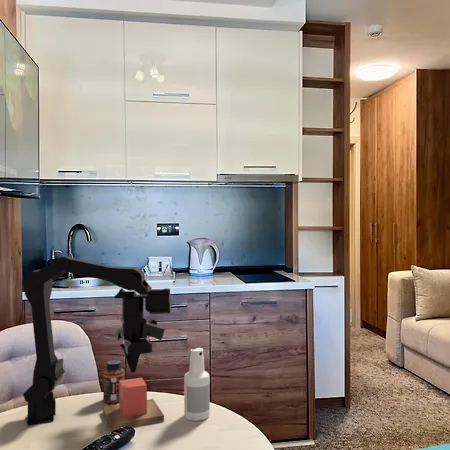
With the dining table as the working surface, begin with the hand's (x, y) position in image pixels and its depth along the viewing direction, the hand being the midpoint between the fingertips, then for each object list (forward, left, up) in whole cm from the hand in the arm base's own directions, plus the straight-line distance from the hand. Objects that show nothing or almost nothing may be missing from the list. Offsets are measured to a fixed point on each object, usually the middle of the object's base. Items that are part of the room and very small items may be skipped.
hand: (133, 372), depth 119 cm
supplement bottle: (-3, +14, -12) cm, 18 cm away
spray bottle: (+16, -6, -12) cm, 21 cm away
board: (0, 0, -12) cm, 12 cm away
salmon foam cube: (0, 0, -10) cm, 11 cm away
